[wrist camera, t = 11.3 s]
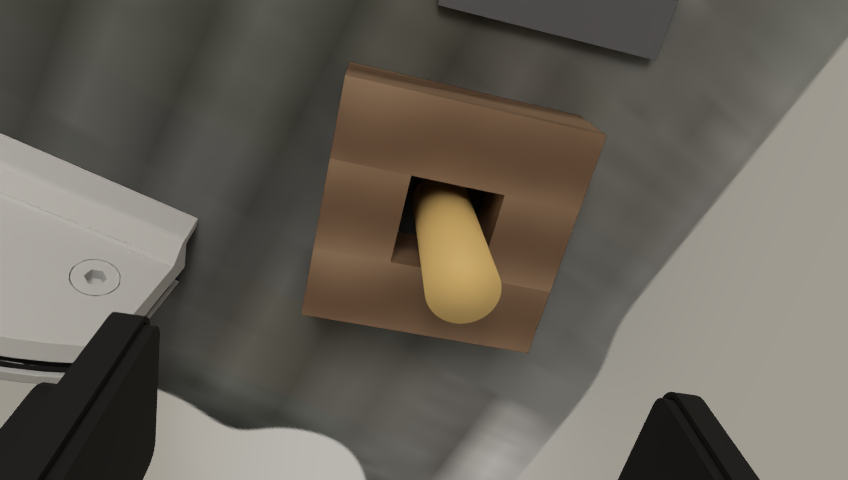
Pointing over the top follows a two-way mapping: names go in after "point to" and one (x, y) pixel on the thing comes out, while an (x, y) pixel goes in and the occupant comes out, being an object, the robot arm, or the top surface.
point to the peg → (453, 254)
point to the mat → (584, 20)
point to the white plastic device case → (75, 259)
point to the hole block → (455, 164)
